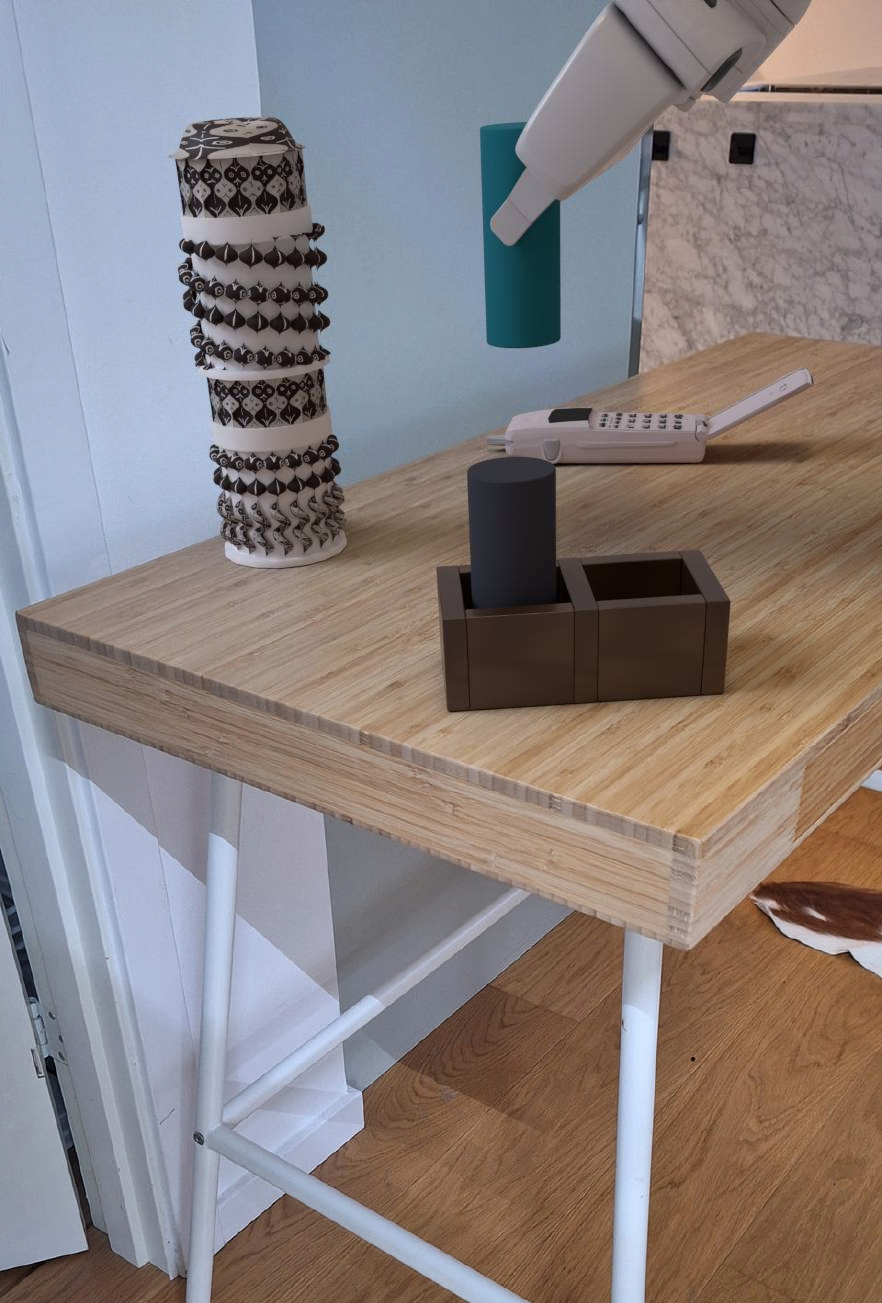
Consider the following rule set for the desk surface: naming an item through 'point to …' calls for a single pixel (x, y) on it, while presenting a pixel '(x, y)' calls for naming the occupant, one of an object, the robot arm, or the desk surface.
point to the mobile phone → (635, 430)
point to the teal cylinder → (517, 253)
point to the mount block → (588, 634)
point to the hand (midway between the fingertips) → (511, 228)
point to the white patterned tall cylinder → (260, 339)
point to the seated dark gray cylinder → (512, 532)
